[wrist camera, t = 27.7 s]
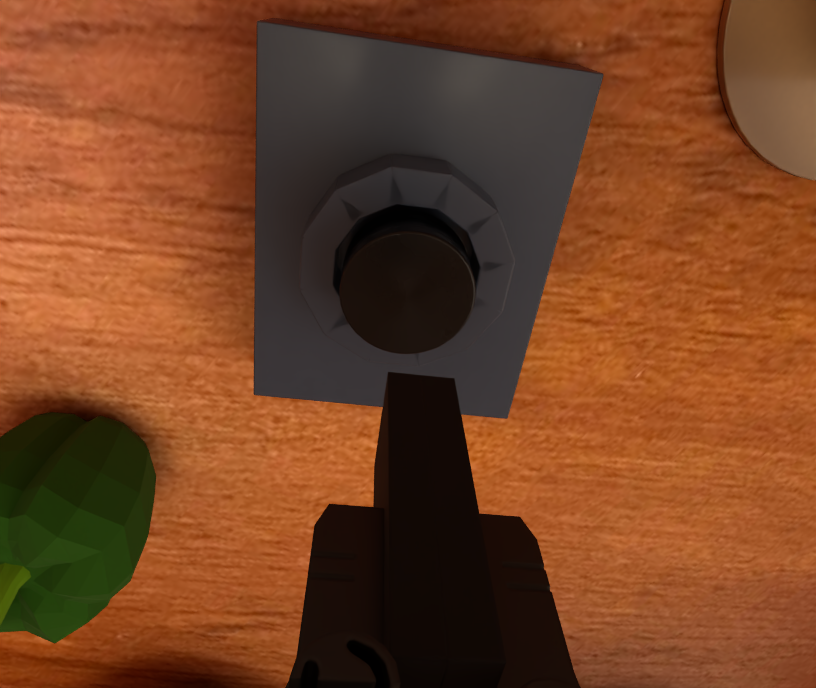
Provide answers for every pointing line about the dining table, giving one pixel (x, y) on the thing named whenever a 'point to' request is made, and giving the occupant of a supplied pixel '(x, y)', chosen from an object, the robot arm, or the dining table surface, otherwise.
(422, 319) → the button
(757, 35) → the coaster
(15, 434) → the bell pepper
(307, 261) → the plate
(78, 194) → the dining table surface
